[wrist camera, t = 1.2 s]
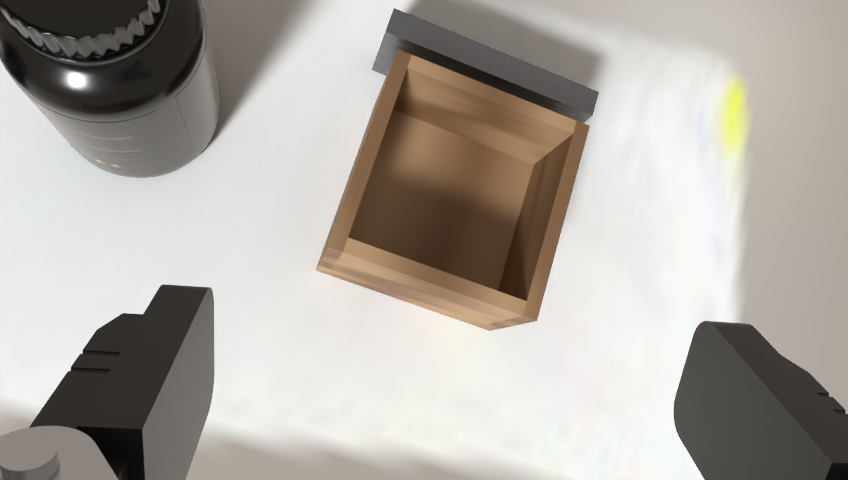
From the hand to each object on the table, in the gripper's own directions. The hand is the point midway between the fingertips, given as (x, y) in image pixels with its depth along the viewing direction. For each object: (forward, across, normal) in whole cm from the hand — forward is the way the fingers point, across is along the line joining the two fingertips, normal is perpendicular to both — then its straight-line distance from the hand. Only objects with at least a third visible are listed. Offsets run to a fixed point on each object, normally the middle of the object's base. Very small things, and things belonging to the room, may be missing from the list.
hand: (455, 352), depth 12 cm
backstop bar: (+25, -4, +1) cm, 26 cm away
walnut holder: (+22, -2, +6) cm, 23 cm away
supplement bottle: (+23, +12, +2) cm, 26 cm away
